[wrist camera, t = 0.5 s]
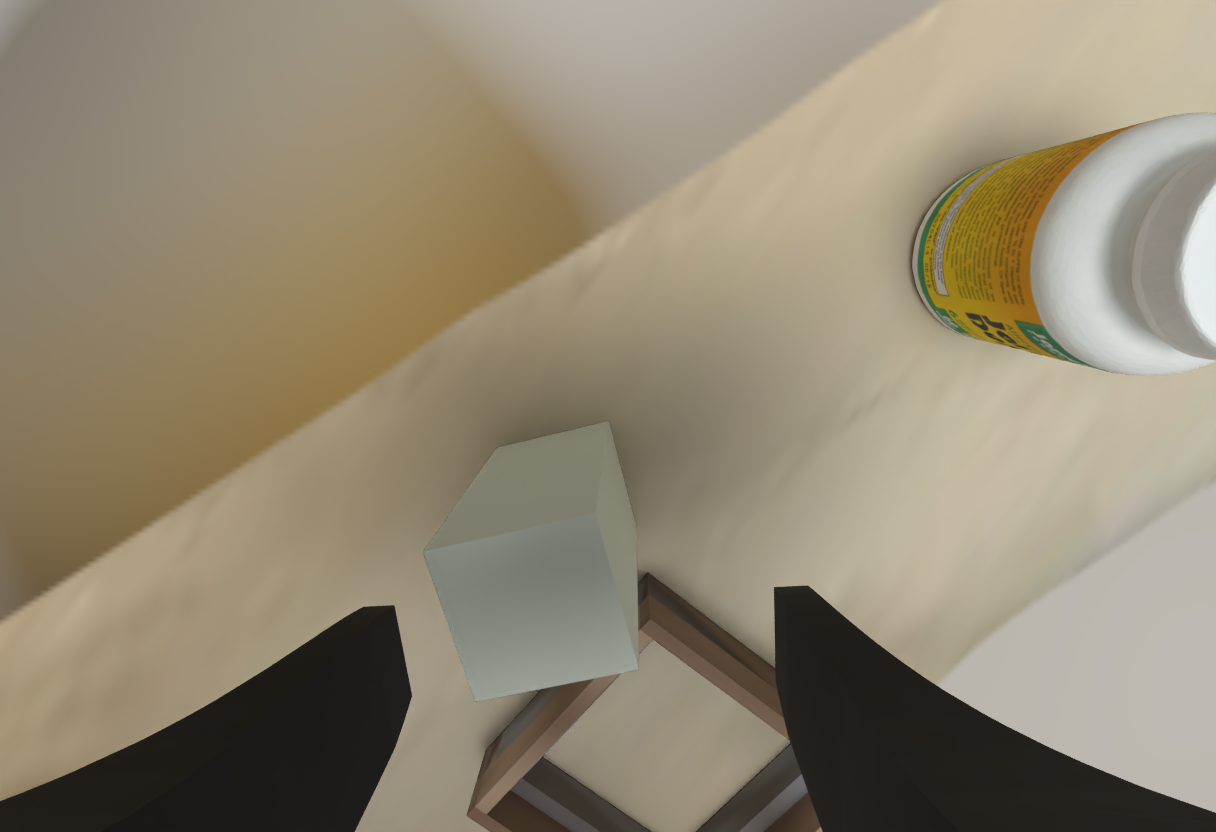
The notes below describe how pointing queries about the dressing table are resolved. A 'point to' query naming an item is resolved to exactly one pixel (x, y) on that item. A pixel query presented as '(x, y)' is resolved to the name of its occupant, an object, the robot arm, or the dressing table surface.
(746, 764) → the dressing table surface
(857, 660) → the robot arm
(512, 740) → the bore box
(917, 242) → the supplement bottle
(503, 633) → the sage peg
